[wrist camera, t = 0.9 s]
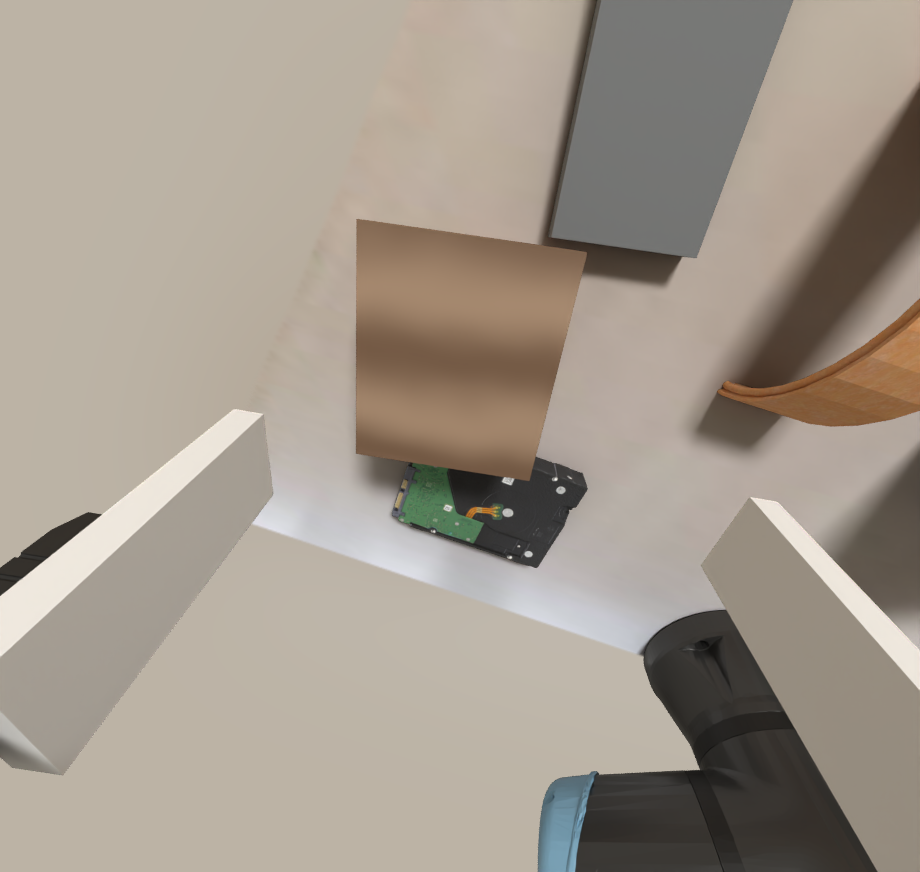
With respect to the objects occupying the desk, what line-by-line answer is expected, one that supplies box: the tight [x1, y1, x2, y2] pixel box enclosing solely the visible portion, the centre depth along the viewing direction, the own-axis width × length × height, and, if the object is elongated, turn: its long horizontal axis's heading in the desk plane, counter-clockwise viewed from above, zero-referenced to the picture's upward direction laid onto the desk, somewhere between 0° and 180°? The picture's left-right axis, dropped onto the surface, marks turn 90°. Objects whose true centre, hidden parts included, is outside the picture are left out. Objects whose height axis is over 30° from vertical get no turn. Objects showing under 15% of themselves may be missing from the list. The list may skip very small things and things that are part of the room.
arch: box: [717, 299, 920, 426], centre depth 21 cm, size 6×20×10 cm, turn 163°
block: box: [548, 0, 793, 258], centre depth 21 cm, size 16×9×2 cm, turn 173°
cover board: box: [356, 219, 587, 481], centre depth 23 cm, size 13×11×3 cm
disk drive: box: [392, 457, 588, 568], centre depth 35 cm, size 10×3×15 cm
